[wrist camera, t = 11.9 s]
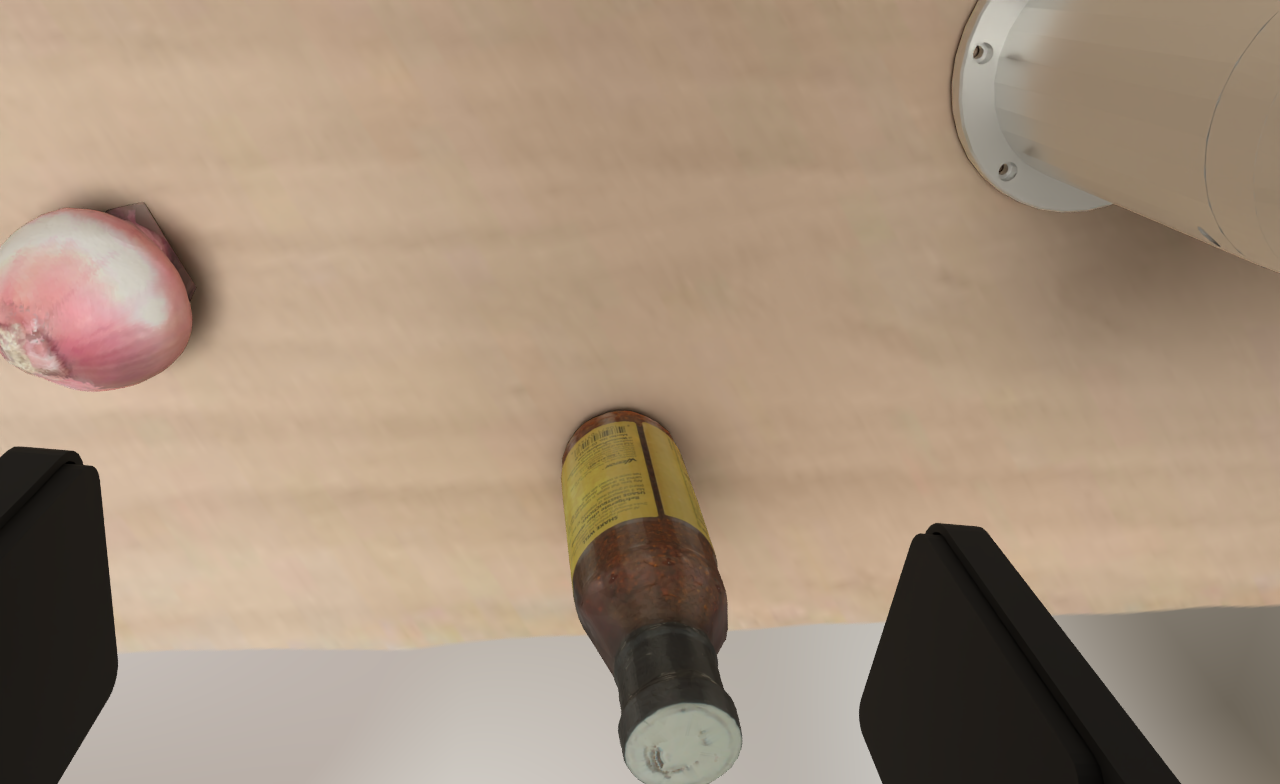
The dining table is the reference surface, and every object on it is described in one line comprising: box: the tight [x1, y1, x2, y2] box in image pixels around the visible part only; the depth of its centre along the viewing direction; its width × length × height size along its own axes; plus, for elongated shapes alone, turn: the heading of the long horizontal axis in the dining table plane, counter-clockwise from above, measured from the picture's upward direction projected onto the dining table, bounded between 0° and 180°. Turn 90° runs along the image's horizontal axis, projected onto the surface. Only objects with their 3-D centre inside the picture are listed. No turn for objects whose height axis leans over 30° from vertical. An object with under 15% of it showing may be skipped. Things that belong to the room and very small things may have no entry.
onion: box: [0, 202, 196, 391], centre depth 39 cm, size 8×8×7 cm
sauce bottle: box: [561, 410, 742, 784], centre depth 39 cm, size 7×6×20 cm
